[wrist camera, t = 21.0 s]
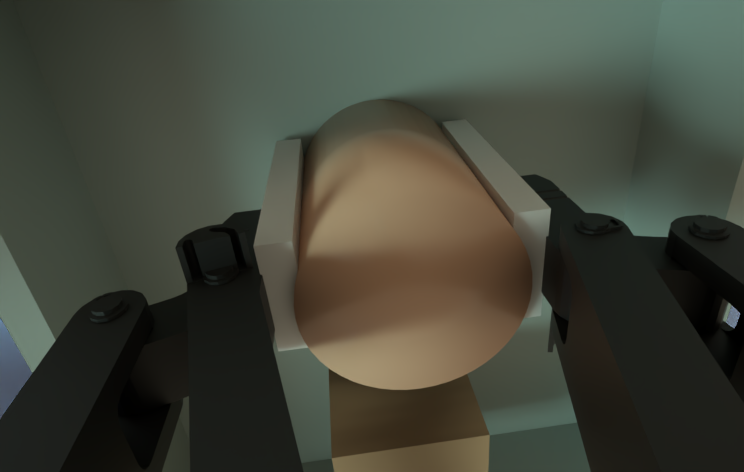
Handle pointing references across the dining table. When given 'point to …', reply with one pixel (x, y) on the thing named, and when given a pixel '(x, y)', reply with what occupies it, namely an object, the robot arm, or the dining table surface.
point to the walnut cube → (407, 428)
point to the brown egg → (402, 253)
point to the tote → (310, 111)
